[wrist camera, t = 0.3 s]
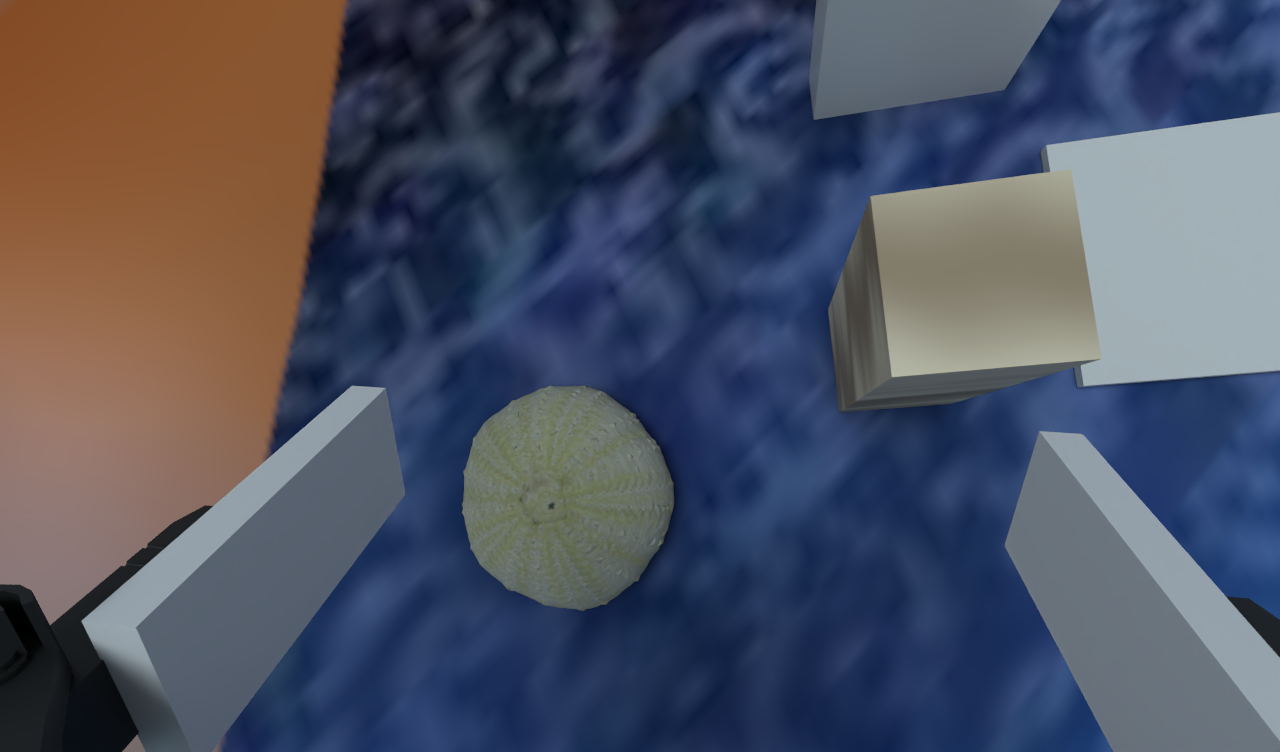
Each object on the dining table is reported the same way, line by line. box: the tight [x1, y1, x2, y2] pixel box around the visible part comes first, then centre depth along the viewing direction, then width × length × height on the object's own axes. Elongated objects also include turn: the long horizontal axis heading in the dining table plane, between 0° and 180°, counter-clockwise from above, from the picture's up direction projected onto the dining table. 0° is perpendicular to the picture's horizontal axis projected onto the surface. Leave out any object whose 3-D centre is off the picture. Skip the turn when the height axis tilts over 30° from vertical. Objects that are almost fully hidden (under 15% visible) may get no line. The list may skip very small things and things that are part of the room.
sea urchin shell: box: [462, 386, 674, 611], centre depth 29 cm, size 9×8×8 cm
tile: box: [809, 0, 1061, 120], centre depth 25 cm, size 2×8×9 cm, turn 94°
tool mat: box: [1041, 112, 1280, 387], centre depth 26 cm, size 10×10×1 cm
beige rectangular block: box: [828, 169, 1102, 412], centre depth 22 cm, size 4×4×13 cm
